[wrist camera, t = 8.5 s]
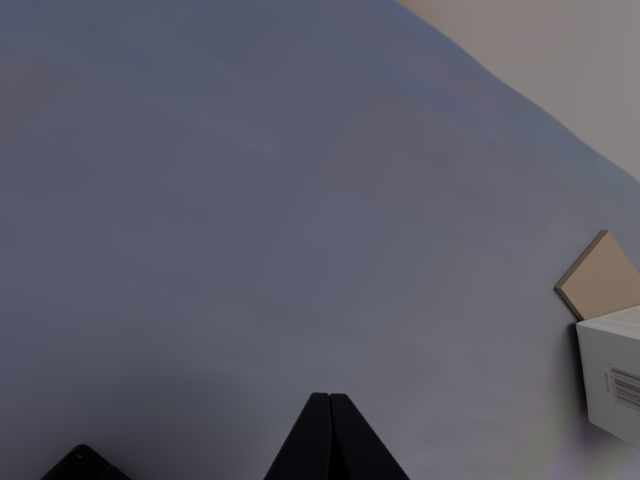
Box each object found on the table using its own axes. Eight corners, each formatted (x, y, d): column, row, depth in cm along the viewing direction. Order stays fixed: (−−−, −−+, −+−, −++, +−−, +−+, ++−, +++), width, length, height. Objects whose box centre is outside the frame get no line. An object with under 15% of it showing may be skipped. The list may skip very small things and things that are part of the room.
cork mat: (636, 393, 26) (643, 396, 26) (554, 286, 24) (560, 287, 24) (677, 337, 27) (685, 338, 27) (602, 230, 25) (609, 230, 25)
